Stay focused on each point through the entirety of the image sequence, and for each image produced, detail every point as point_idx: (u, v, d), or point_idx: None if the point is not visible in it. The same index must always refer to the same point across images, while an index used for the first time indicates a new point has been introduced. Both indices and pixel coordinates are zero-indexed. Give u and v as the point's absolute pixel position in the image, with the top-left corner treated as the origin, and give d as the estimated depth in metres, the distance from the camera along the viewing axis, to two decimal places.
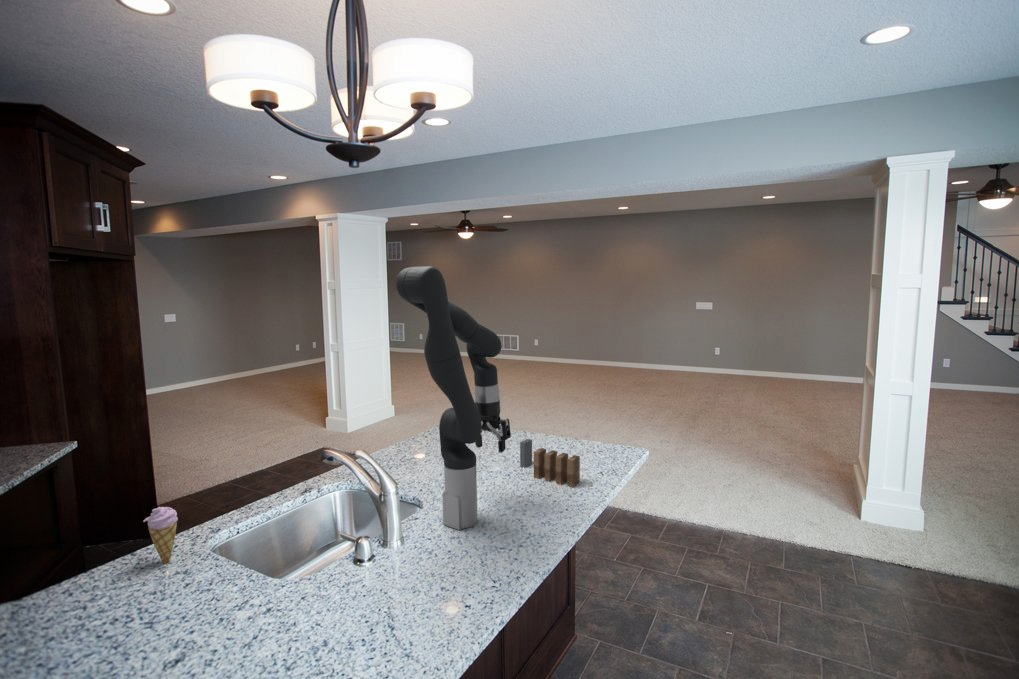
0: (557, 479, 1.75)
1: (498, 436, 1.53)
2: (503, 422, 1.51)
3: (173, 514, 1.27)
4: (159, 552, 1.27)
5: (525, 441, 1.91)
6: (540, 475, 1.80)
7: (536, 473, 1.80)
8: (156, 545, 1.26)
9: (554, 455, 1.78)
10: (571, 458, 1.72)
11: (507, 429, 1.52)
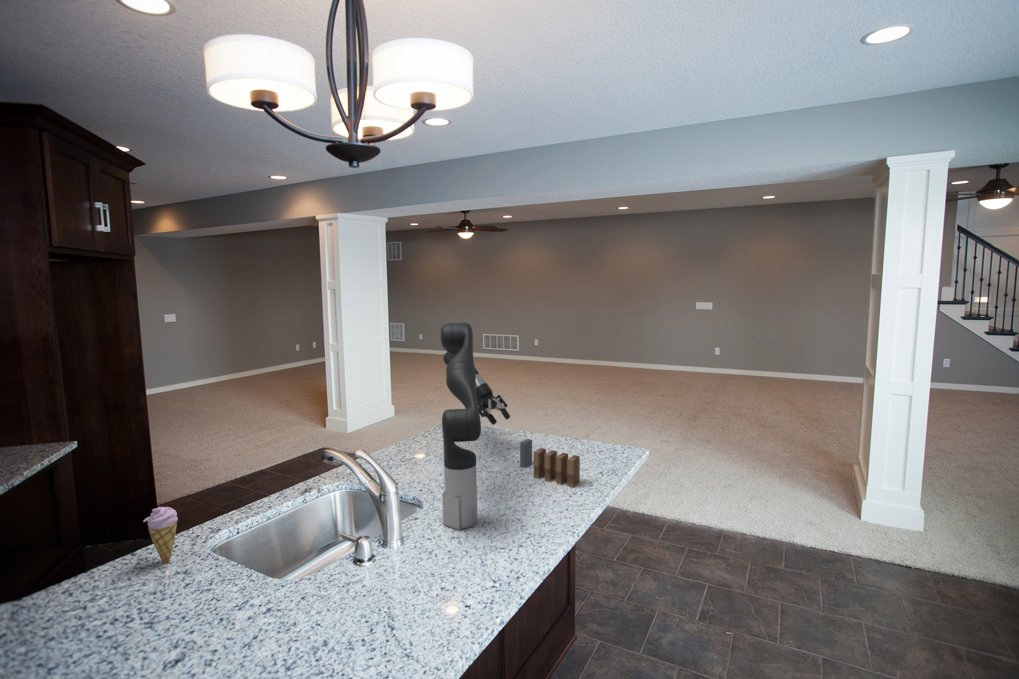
0: (557, 479, 1.75)
1: (502, 406, 2.02)
2: (499, 395, 2.06)
3: (173, 514, 1.27)
4: (159, 552, 1.27)
5: (525, 441, 1.91)
6: (540, 475, 1.80)
7: (536, 473, 1.80)
8: (156, 545, 1.26)
9: (554, 455, 1.78)
10: (571, 458, 1.72)
11: None
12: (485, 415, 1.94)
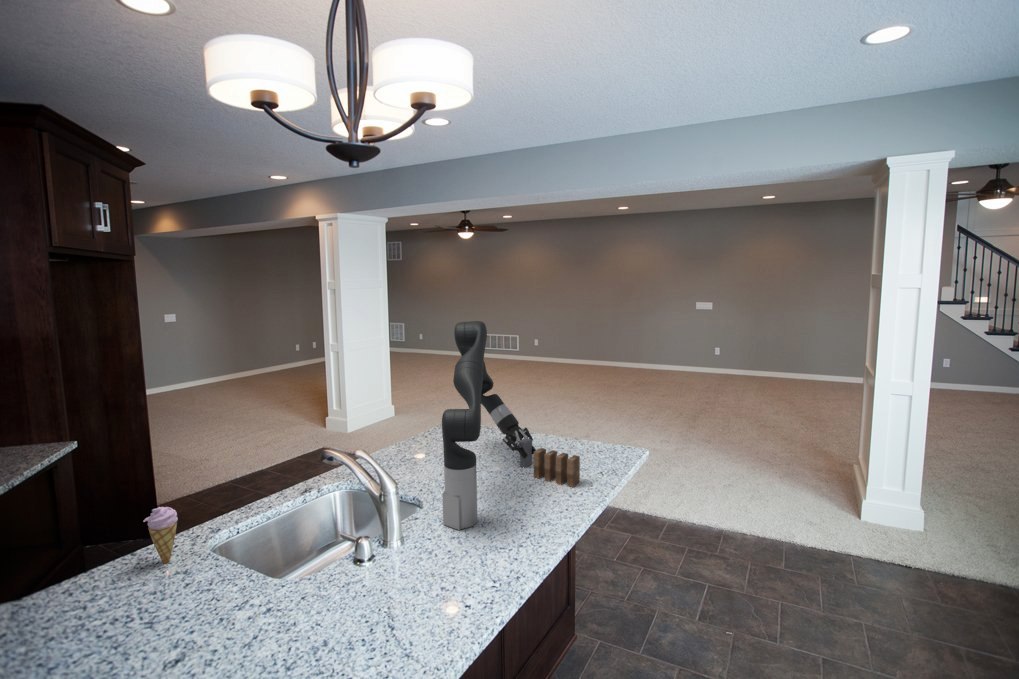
0: (557, 479, 1.75)
1: None
2: (526, 428, 1.99)
3: (173, 514, 1.27)
4: (159, 552, 1.27)
5: (525, 441, 1.91)
6: (540, 475, 1.80)
7: (536, 473, 1.80)
8: (156, 545, 1.26)
9: (554, 455, 1.78)
10: (571, 458, 1.72)
11: None
12: (516, 448, 1.89)
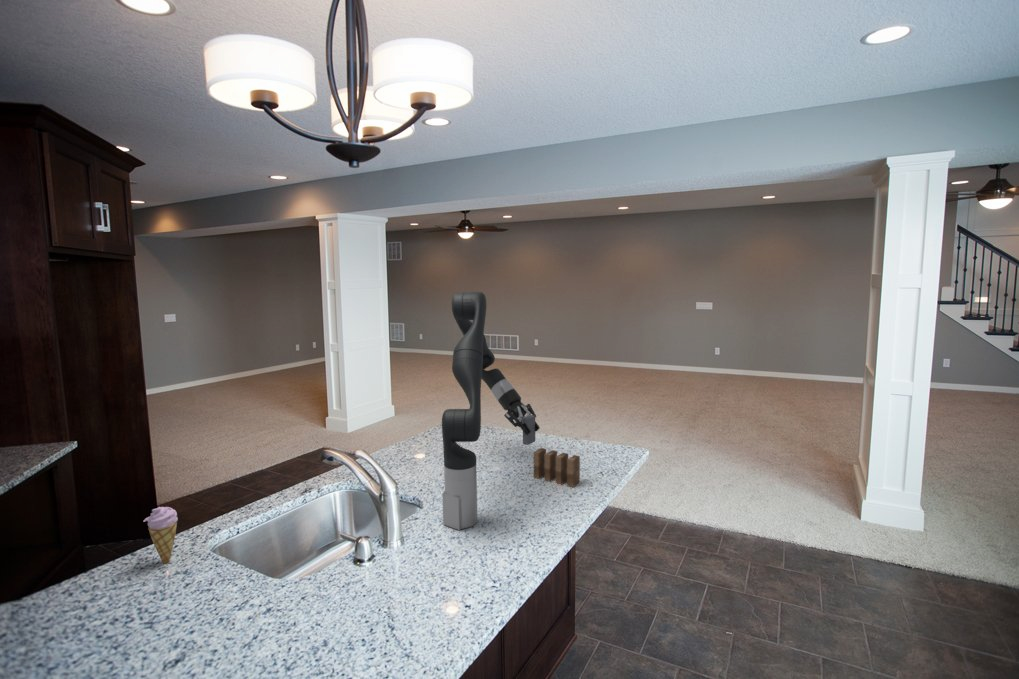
0: (557, 479, 1.75)
1: None
2: (529, 404, 1.89)
3: (173, 514, 1.27)
4: (159, 552, 1.27)
5: (528, 417, 1.82)
6: (540, 475, 1.80)
7: (536, 473, 1.80)
8: (156, 545, 1.26)
9: (554, 455, 1.78)
10: (571, 458, 1.72)
11: None
12: (518, 424, 1.79)
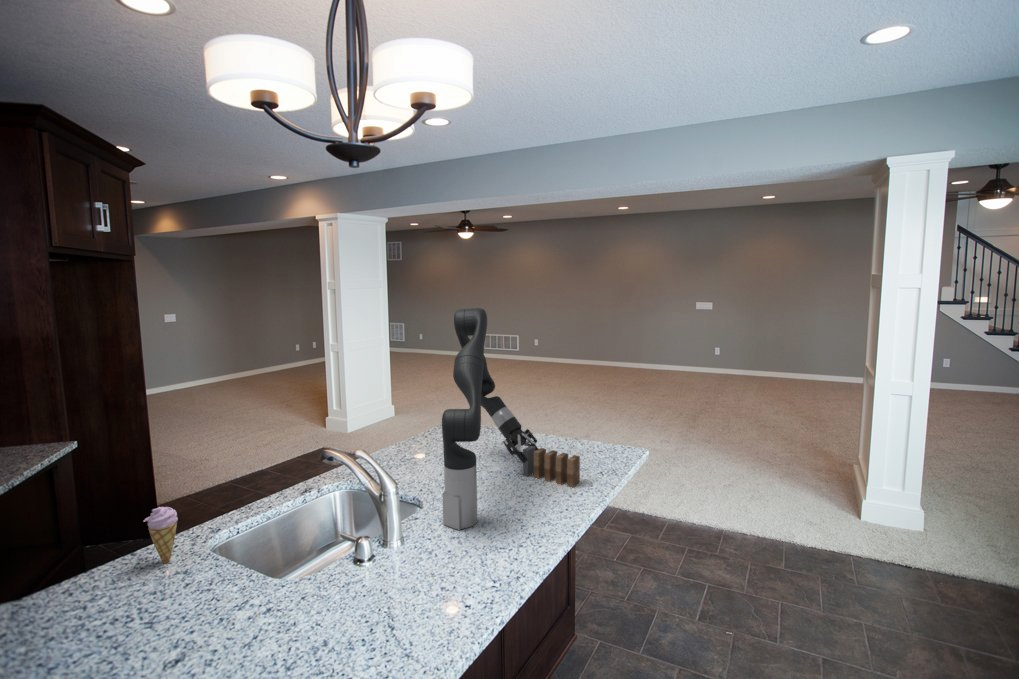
0: (557, 479, 1.75)
1: (532, 441, 1.88)
2: None
3: (173, 514, 1.27)
4: (159, 552, 1.27)
5: (528, 448, 1.83)
6: (540, 475, 1.80)
7: (536, 473, 1.80)
8: (156, 545, 1.26)
9: (554, 455, 1.78)
10: (571, 458, 1.72)
11: None
12: (515, 453, 1.80)
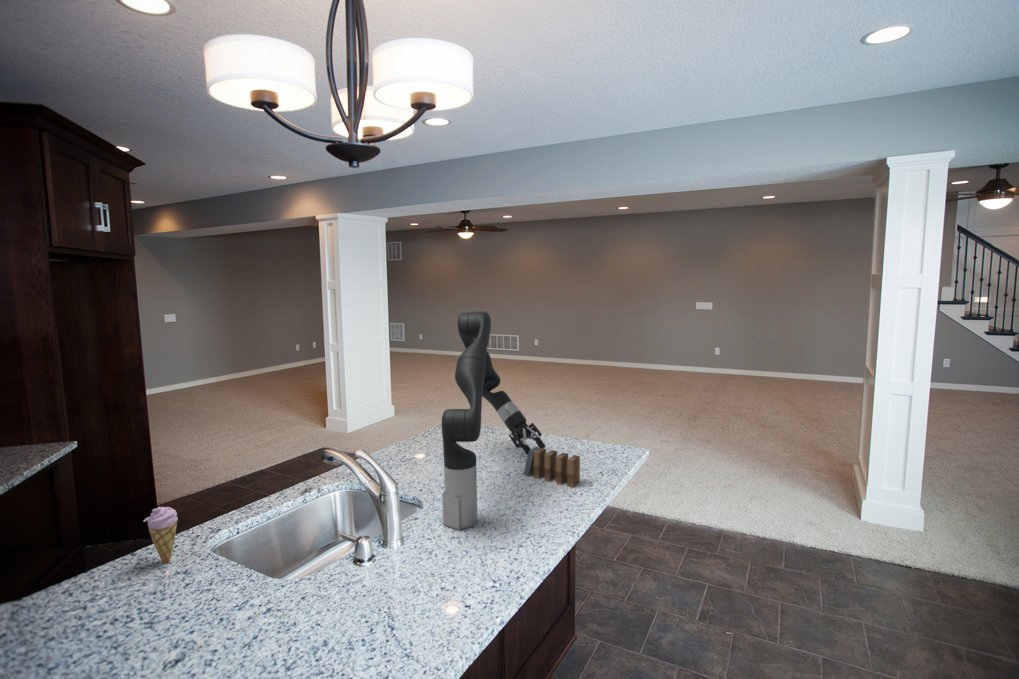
0: (557, 479, 1.75)
1: (537, 435, 1.92)
2: (532, 423, 1.95)
3: (173, 514, 1.27)
4: (159, 552, 1.27)
5: (534, 450, 1.81)
6: (540, 475, 1.80)
7: (536, 473, 1.80)
8: (156, 545, 1.26)
9: (554, 455, 1.78)
10: (571, 458, 1.72)
11: None
12: (520, 446, 1.83)
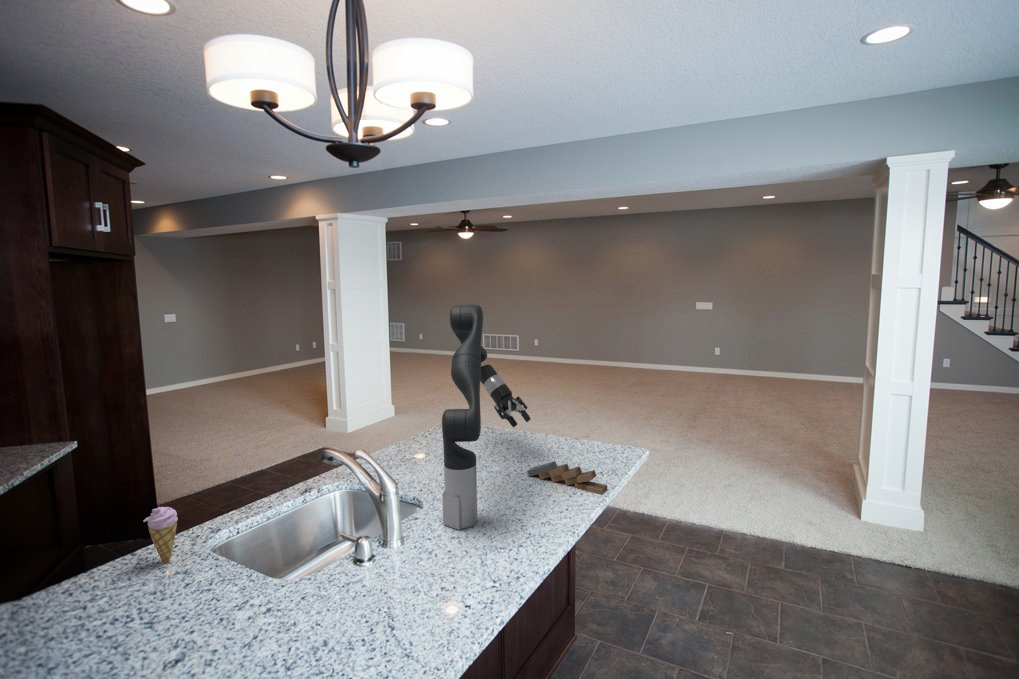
0: (569, 480, 1.73)
1: (522, 407, 1.95)
2: (518, 397, 1.98)
3: (173, 514, 1.27)
4: (159, 552, 1.27)
5: (552, 466, 1.78)
6: None
7: (543, 476, 1.78)
8: (156, 545, 1.26)
9: None
10: (602, 491, 1.67)
11: None
12: (505, 417, 1.87)
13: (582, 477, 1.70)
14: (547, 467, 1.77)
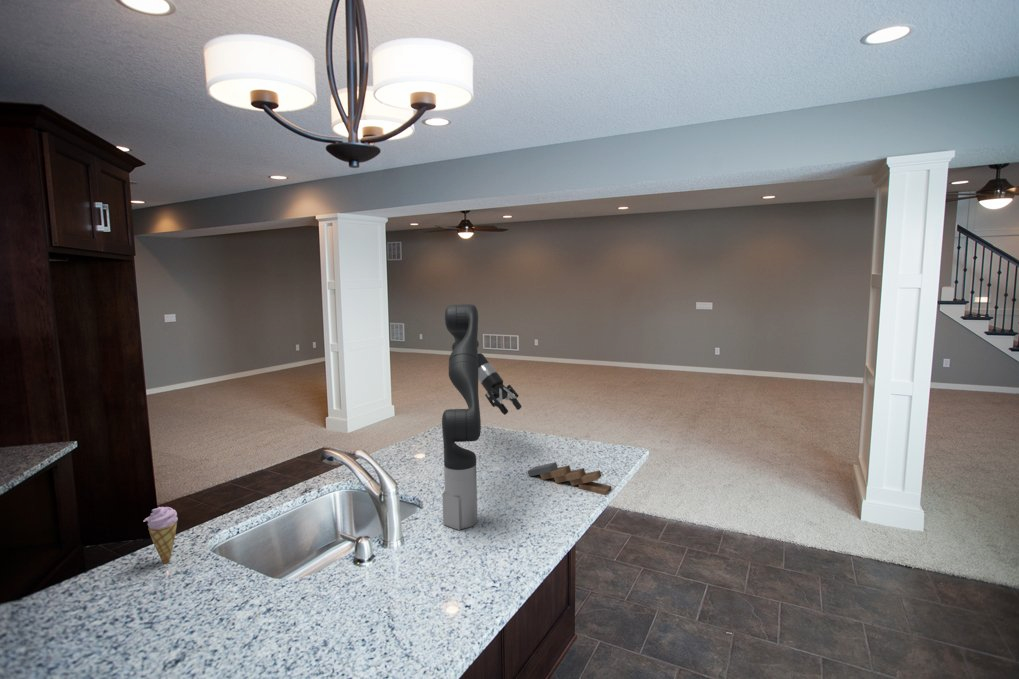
0: (574, 481, 1.72)
1: (513, 395, 1.96)
2: (509, 385, 2.00)
3: (173, 514, 1.27)
4: (159, 552, 1.27)
5: (552, 467, 1.78)
6: None
7: (545, 476, 1.78)
8: (156, 545, 1.26)
9: None
10: (607, 491, 1.67)
11: None
12: (496, 405, 1.88)
13: (587, 477, 1.69)
14: (548, 468, 1.77)
